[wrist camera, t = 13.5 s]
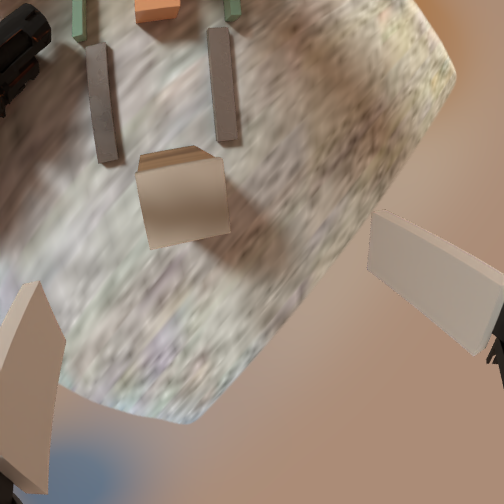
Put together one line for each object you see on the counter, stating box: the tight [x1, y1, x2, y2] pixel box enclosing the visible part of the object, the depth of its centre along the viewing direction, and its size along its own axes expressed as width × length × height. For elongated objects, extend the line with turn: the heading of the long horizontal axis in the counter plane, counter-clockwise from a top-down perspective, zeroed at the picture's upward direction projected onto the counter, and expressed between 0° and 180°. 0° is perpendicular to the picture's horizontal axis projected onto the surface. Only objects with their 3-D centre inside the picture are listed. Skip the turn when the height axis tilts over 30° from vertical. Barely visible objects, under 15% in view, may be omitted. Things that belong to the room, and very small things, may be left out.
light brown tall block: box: [135, 146, 231, 250], centre depth 26 cm, size 5×6×12 cm
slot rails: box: [85, 27, 238, 164], centre depth 27 cm, size 12×14×1 cm
